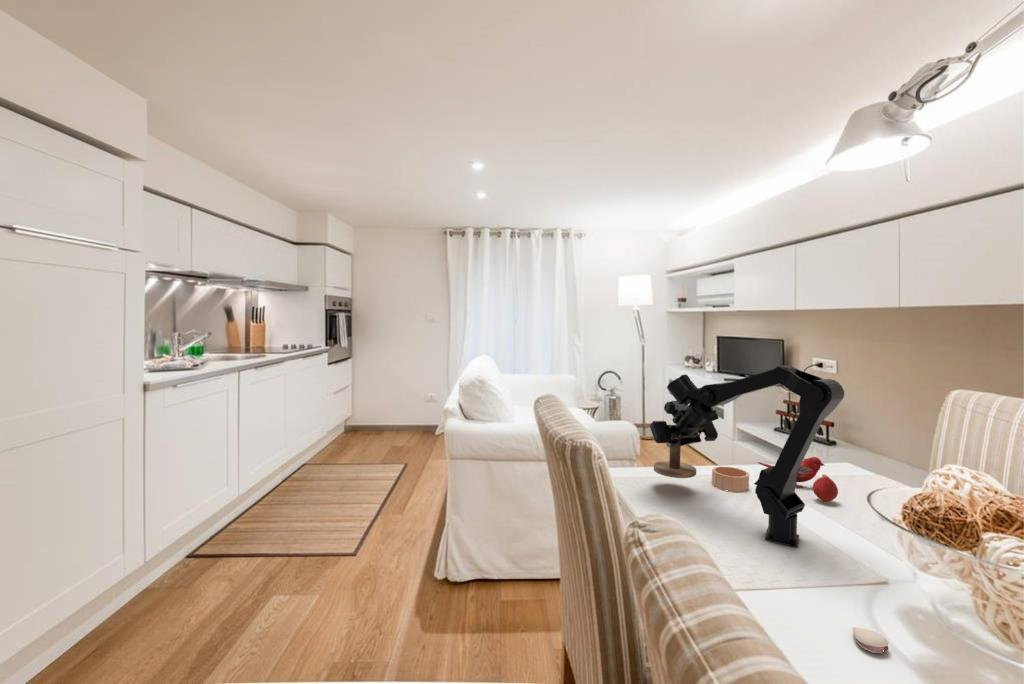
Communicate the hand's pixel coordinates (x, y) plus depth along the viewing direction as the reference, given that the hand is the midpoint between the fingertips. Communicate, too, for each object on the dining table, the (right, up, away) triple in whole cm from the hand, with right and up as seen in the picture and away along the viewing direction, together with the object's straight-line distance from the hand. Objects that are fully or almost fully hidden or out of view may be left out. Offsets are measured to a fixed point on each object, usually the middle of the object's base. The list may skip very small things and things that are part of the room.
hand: (672, 445), depth 136 cm
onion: (+40, -14, -9) cm, 43 cm away
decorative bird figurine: (+37, -14, +4) cm, 40 cm away
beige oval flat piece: (+7, -17, -65) cm, 68 cm away
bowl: (+19, -13, +3) cm, 23 cm away
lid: (0, -7, -1) cm, 7 cm away
